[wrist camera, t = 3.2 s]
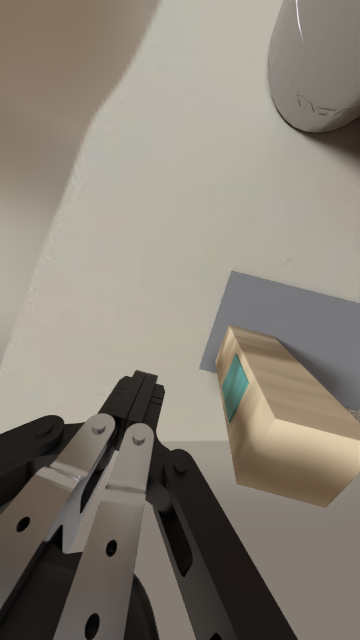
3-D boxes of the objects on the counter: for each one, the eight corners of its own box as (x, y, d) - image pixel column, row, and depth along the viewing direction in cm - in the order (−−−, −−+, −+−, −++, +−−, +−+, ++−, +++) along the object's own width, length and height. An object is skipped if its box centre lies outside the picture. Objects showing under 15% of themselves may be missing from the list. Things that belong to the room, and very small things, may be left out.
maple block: (227, 324, 19) (272, 417, 8) (272, 336, 19) (384, 447, 8) (214, 361, 21) (234, 483, 9) (255, 372, 21) (325, 507, 9)
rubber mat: (231, 270, 18) (232, 271, 17) (422, 320, 17) (429, 321, 17) (199, 366, 22) (199, 368, 21) (354, 407, 22) (357, 410, 21)
